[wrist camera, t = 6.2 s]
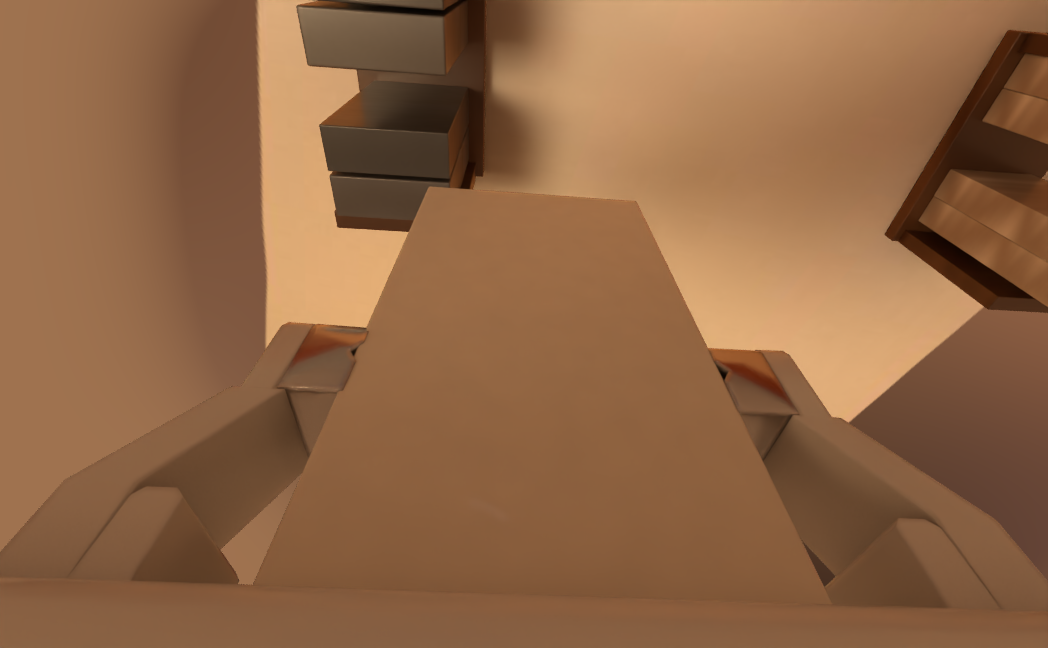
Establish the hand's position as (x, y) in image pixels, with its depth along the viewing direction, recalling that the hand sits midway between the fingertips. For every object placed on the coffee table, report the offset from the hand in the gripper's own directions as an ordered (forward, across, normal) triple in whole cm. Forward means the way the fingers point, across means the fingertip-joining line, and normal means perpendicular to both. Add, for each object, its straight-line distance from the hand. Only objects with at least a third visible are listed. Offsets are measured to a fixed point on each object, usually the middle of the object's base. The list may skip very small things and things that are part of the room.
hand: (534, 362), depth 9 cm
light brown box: (+6, 0, 0) cm, 6 cm away
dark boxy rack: (+27, +7, 0) cm, 28 cm away
